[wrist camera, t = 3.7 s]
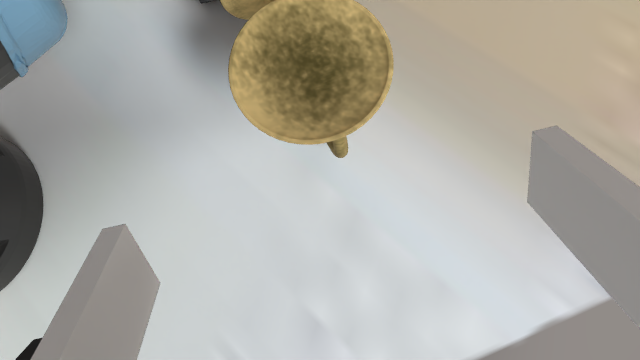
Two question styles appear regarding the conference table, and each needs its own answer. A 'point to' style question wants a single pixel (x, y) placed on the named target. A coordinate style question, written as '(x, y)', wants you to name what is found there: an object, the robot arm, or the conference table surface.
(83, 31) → the conference table surface
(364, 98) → the wall sconce
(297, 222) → the conference table surface
